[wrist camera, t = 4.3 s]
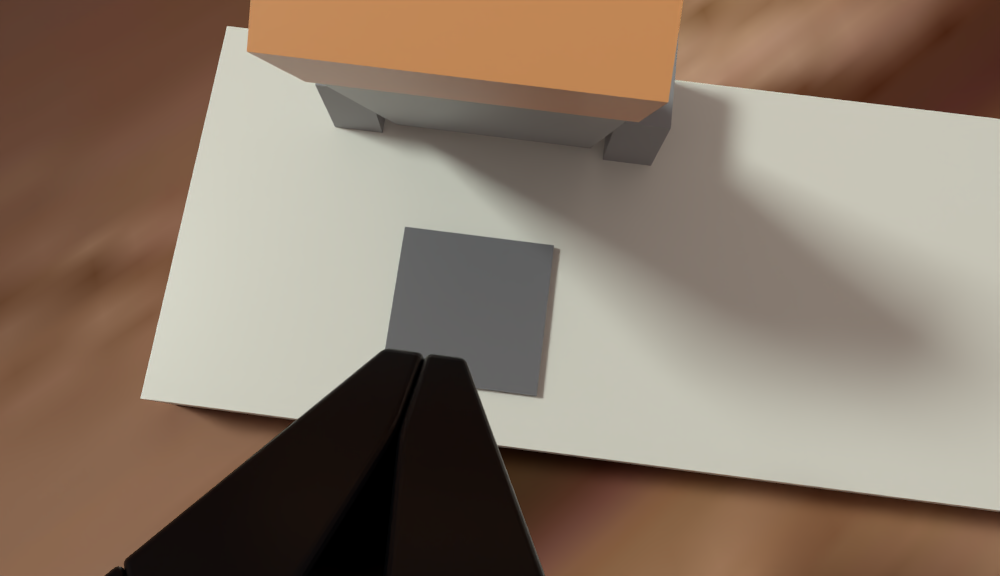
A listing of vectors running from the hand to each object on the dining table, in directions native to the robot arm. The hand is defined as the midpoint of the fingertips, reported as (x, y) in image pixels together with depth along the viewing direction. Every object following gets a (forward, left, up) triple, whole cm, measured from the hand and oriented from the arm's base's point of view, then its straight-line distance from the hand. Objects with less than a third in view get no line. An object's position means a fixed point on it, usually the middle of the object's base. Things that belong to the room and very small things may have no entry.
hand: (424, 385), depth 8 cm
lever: (+7, 0, -7) cm, 10 cm away
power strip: (+4, -6, -8) cm, 11 cm away
